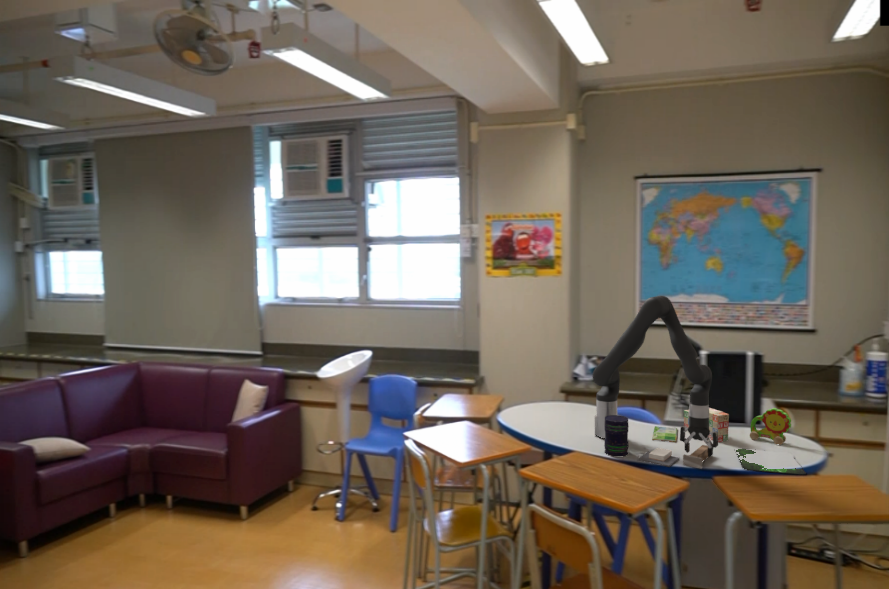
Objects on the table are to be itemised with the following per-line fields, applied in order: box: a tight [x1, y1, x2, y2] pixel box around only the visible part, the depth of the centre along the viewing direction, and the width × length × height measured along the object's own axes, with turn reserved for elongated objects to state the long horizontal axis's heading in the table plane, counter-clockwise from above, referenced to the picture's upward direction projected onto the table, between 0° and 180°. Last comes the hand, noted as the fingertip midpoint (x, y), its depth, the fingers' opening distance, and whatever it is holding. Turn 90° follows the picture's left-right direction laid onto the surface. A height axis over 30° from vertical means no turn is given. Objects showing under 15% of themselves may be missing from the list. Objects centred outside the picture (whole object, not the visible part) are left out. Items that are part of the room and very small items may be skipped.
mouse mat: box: [735, 448, 807, 476], centre depth 244 cm, size 27×22×1 cm
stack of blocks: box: [683, 407, 730, 443], centre depth 278 cm, size 21×6×12 cm, turn 20°
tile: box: [649, 447, 673, 461], centre depth 249 cm, size 6×2×9 cm
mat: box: [637, 451, 680, 468], centre depth 248 cm, size 13×11×1 cm
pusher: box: [682, 444, 709, 470], centre depth 246 cm, size 17×7×4 cm, turn 139°
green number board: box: [651, 425, 678, 443], centre depth 280 cm, size 20×1×10 cm
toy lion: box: [749, 407, 792, 446], centre depth 266 cm, size 16×6×15 cm, turn 44°
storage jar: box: [603, 414, 630, 457], centre depth 257 cm, size 10×10×15 cm
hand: (698, 454), depth 245 cm, fingers open, 8 cm apart
